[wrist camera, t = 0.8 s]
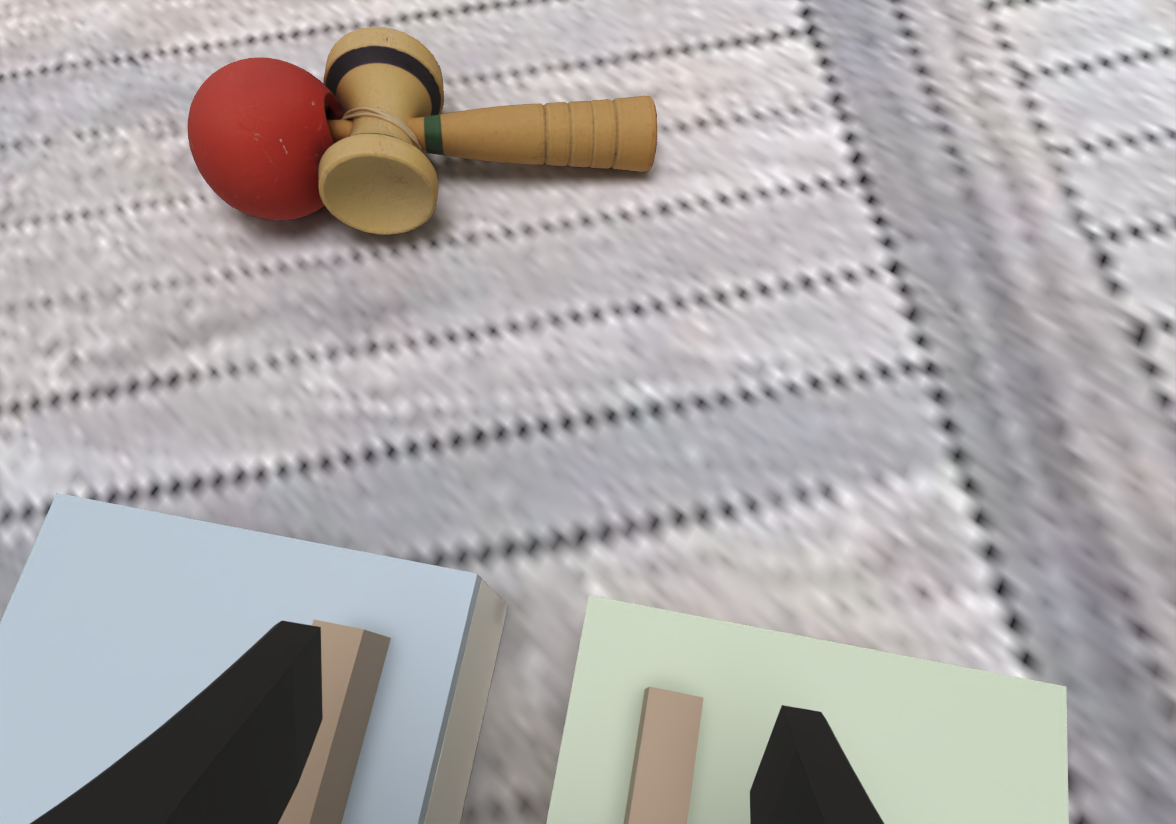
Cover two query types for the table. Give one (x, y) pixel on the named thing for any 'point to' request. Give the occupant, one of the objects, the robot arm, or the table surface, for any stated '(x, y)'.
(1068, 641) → the table surface
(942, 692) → the lid
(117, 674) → the lid
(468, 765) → the crate
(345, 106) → the kendama
